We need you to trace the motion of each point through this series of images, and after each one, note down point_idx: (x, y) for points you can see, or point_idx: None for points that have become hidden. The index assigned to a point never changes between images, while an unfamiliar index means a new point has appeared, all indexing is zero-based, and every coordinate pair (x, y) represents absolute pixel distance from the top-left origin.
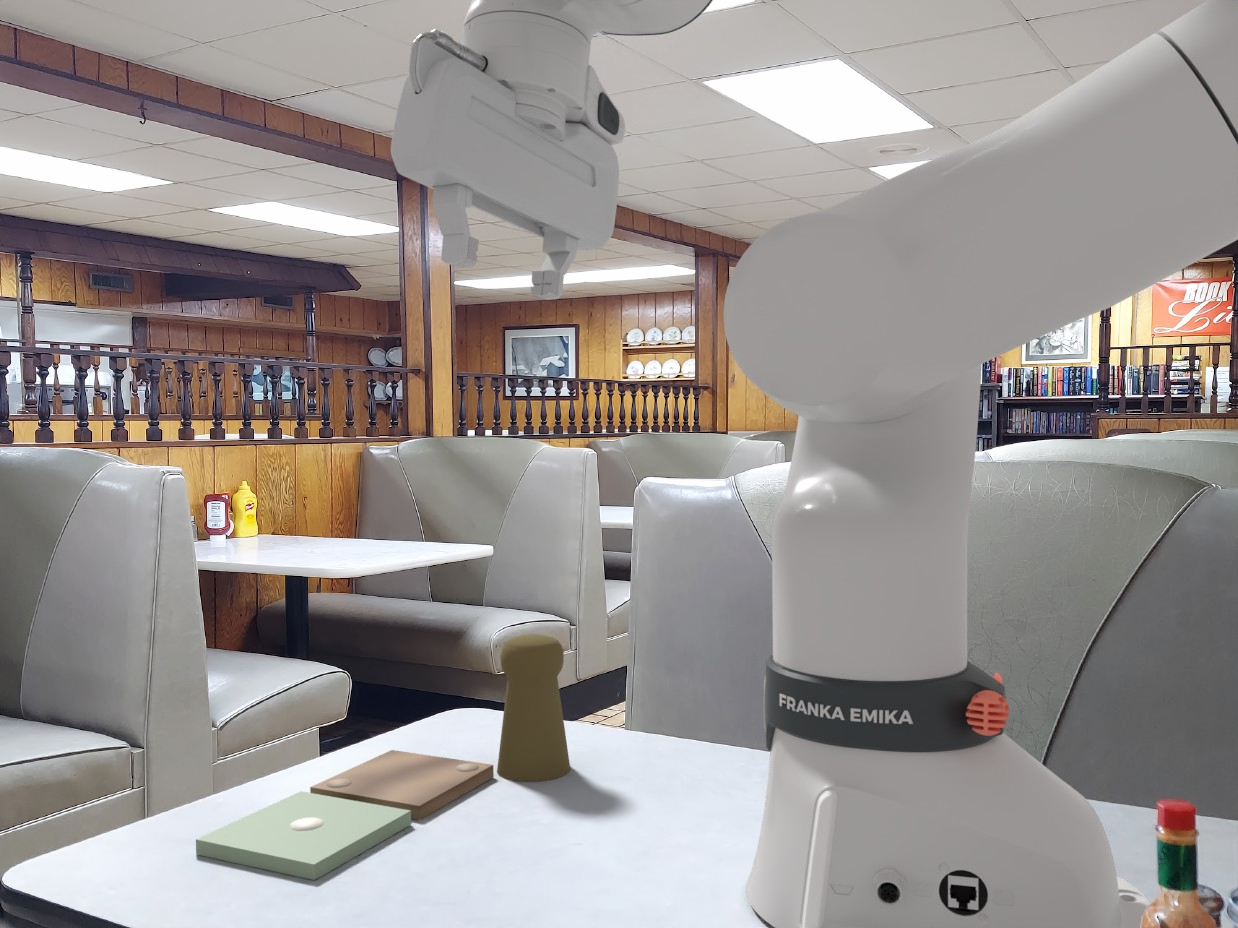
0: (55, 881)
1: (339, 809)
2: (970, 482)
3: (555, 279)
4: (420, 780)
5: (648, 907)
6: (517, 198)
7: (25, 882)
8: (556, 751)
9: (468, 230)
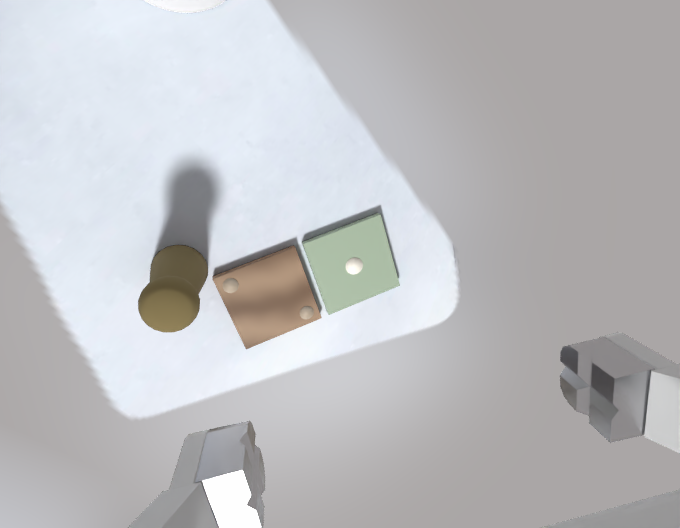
0: (447, 294)
1: (330, 274)
2: None
3: (221, 455)
4: (268, 285)
5: (282, 42)
6: (655, 521)
7: (454, 302)
8: (175, 252)
9: (675, 374)
